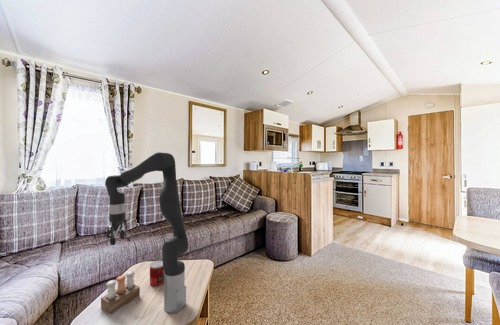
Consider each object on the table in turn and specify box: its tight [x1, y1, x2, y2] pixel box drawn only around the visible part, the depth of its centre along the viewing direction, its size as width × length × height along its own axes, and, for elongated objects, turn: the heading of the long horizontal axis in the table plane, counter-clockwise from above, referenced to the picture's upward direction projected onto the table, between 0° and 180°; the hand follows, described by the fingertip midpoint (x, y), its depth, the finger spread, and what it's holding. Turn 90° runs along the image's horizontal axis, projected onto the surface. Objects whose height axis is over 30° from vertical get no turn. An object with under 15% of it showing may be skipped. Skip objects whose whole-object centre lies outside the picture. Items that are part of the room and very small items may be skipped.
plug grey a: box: [106, 279, 117, 301], centre depth 96 cm, size 4×4×9 cm
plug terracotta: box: [116, 274, 127, 295], centre depth 100 cm, size 4×4×9 cm
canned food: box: [149, 260, 164, 288], centre depth 116 cm, size 8×8×11 cm
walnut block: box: [100, 283, 141, 315], centre depth 101 cm, size 8×14×5 cm, turn 152°
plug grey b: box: [125, 270, 135, 290], centre depth 104 cm, size 4×4×9 cm
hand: (117, 241), depth 110 cm, fingers open, 8 cm apart
